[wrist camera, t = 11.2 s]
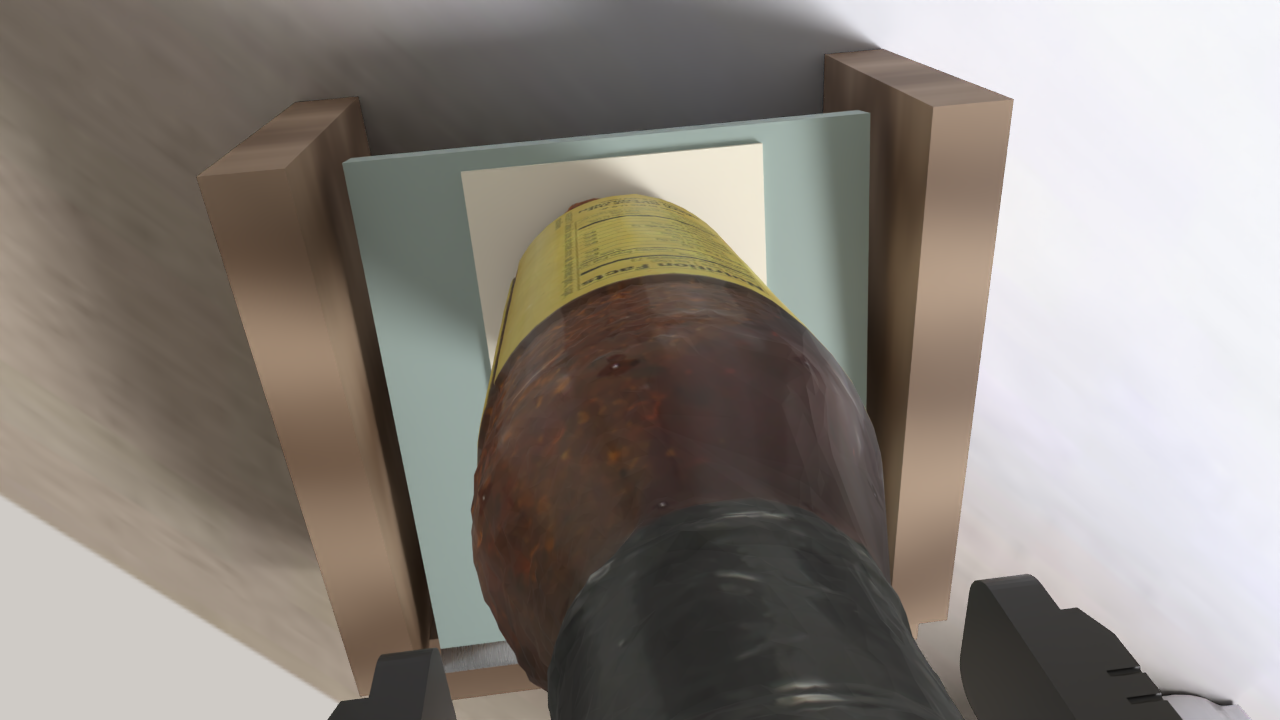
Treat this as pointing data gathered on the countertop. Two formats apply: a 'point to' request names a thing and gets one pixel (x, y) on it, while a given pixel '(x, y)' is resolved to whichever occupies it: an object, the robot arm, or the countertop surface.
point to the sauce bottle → (683, 490)
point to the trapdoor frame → (357, 389)
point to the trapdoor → (499, 236)
